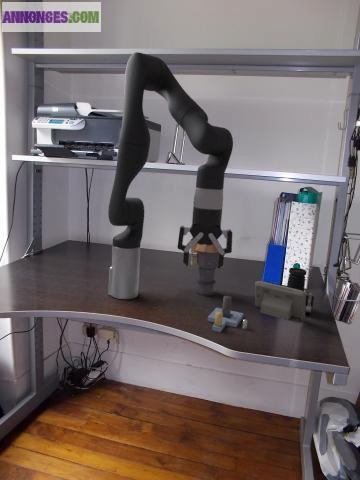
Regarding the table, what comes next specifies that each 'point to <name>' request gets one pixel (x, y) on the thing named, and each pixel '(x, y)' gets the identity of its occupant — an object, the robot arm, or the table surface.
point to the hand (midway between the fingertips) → (202, 266)
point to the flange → (224, 319)
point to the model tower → (205, 267)
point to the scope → (300, 286)
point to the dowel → (244, 324)
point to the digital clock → (280, 300)
